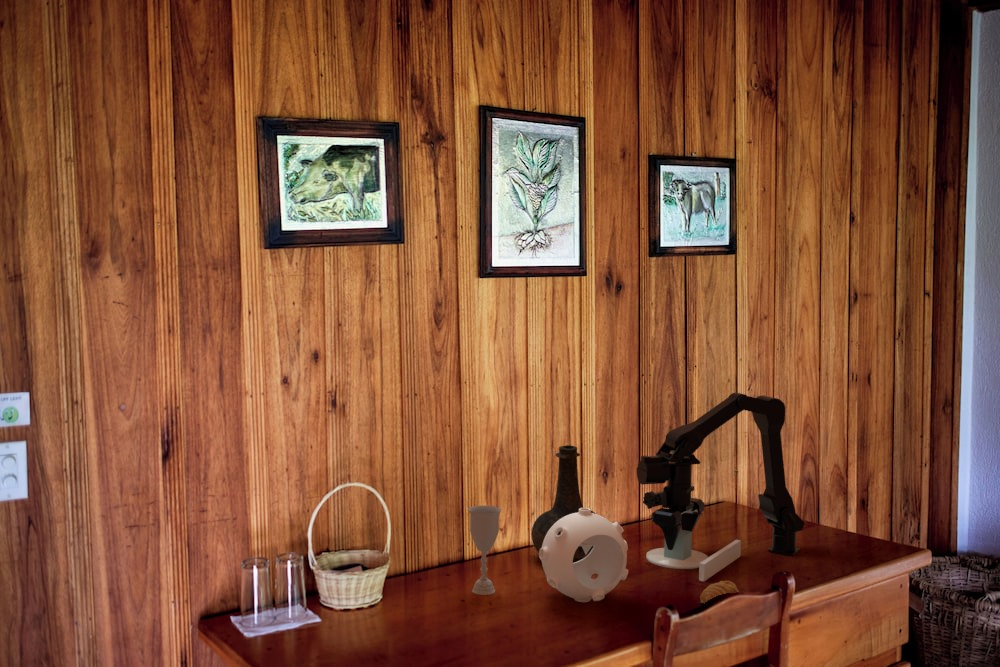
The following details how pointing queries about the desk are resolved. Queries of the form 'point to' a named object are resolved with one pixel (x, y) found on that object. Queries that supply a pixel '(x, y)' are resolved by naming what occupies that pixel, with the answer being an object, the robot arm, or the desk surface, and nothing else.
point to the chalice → (484, 540)
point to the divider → (719, 560)
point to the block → (680, 546)
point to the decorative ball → (601, 560)
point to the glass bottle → (562, 499)
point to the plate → (690, 563)
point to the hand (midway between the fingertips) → (677, 545)
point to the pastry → (718, 590)
